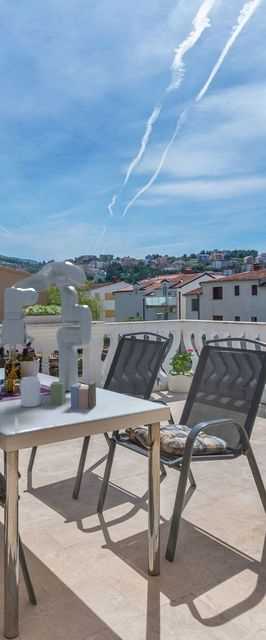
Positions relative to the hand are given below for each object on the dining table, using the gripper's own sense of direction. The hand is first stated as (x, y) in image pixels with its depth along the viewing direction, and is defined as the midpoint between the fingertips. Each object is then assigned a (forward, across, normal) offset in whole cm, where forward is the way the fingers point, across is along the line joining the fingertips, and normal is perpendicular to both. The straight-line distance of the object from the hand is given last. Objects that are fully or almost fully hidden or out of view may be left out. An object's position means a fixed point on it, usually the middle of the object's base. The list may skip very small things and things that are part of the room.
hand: (13, 357), depth 214 cm
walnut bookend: (+20, -34, -1) cm, 39 cm away
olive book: (+20, -18, -7) cm, 28 cm away
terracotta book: (+20, -30, -1) cm, 37 cm away
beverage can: (+21, -7, -1) cm, 22 cm away
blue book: (+20, -26, -1) cm, 34 cm away
